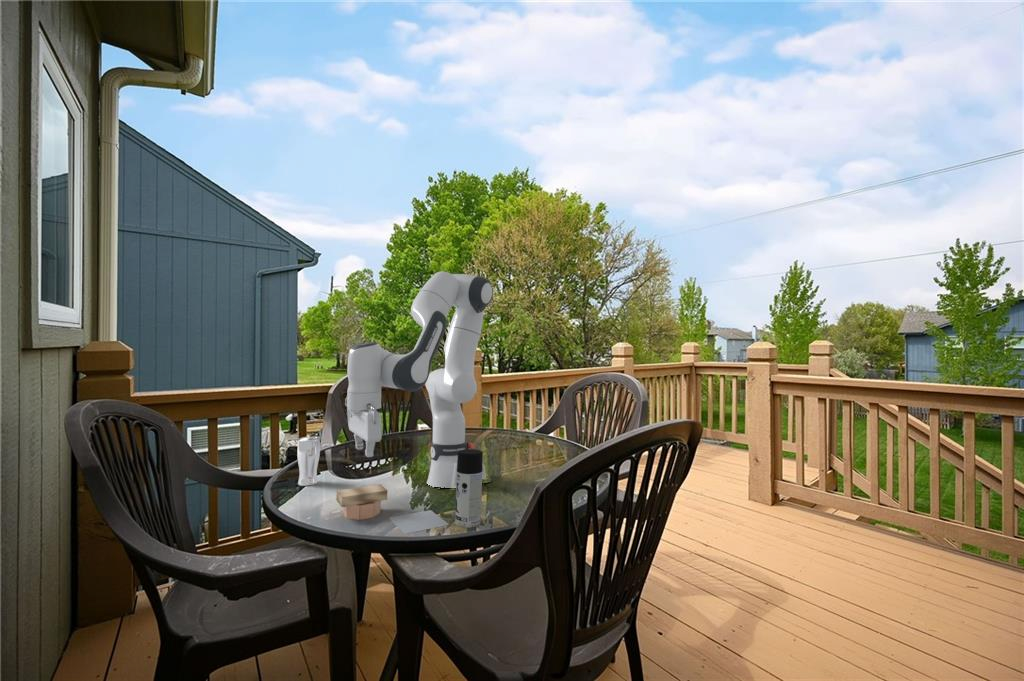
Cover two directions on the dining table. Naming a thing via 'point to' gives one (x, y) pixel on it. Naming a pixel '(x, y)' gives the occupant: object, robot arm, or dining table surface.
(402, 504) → the dining table surface
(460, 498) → the spray can
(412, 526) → the mat
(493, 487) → the dining table surface
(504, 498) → the dining table surface
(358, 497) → the board
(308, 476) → the beer glass
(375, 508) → the bowl
